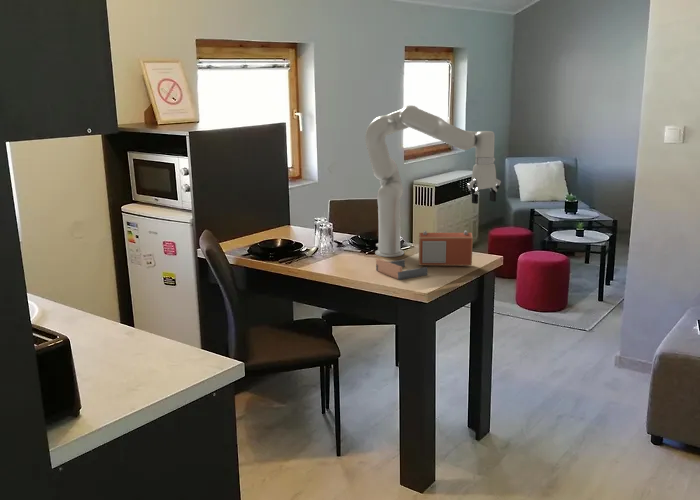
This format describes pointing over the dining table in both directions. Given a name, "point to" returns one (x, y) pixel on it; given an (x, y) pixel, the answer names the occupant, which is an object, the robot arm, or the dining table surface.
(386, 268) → the docking guide
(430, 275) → the dining table surface
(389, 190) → the robot arm
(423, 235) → the control panel
